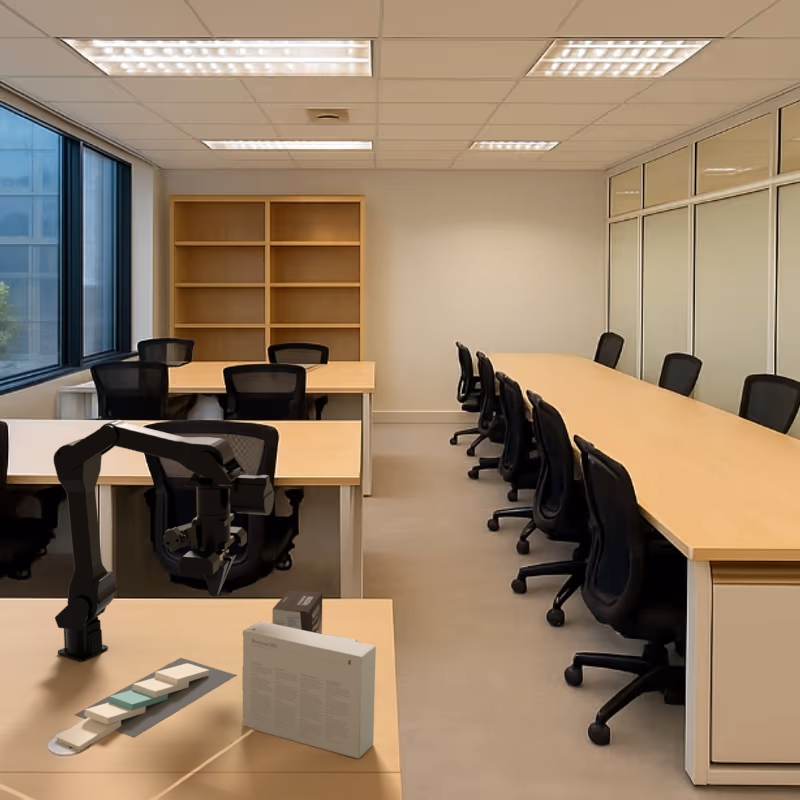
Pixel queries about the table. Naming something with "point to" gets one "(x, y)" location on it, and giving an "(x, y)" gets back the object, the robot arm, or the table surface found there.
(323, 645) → the skincare box
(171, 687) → the domino
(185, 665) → the domino
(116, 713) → the domino
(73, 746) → the domino
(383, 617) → the table surface
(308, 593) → the coffee box
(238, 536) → the robot arm
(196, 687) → the mat
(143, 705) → the teal tile
